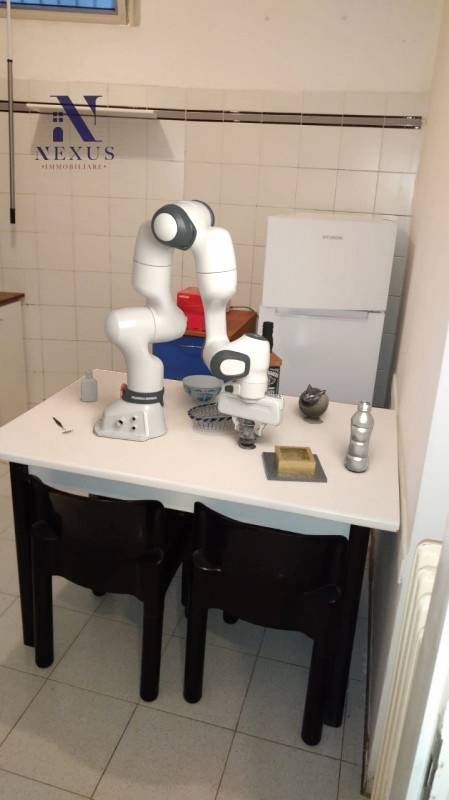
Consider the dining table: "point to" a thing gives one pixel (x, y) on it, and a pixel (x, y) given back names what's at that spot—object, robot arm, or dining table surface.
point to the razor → (61, 425)
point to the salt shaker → (248, 436)
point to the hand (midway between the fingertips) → (248, 432)
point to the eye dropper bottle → (89, 387)
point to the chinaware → (202, 388)
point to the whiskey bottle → (272, 360)
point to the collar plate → (293, 465)
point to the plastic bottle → (360, 438)
